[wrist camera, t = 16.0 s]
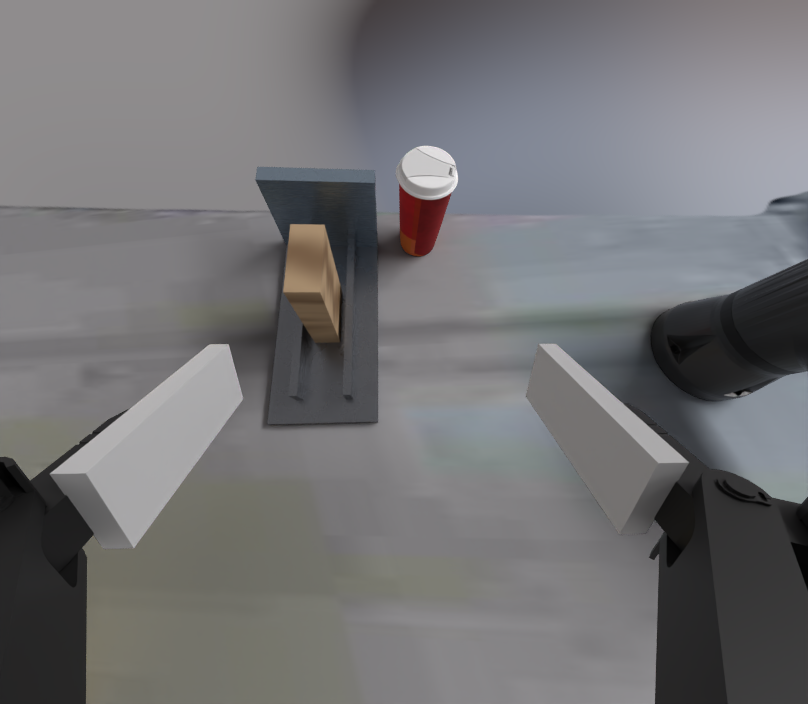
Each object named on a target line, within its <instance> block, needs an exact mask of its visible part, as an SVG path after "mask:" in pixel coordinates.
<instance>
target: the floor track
mask: <svg viewBox="0 0 808 704" xmlns="http://www.w3.org/2000/svg"><path fill="white" fill-rule="evenodd" d="M255 180H256V182H257V184H258V186H259V188H260V191H261V193H262V195H263V197H264V199H265V201H266V203H267V205H268V207H269V209H270V212H271V214H272V216H273V218H274V220H275V222H276V224H277V226H278V229H279V231H280V233H281V235H282V237H283V239H284V241H285V243H286V245H287V247H286V256H285V265H284V274H283V284H282V293H281V302H280V311H279V320H278V330H277V339H276V348H275V357H274V367H273V376H272V385H271V394H270V403H269V413H268V422H267V424H269V425H285V424H325V423H365V422H378V252H377V213H376V187H375V186H376V185H375V170H349V169H315V168H281V167H279V168H278V167H257V173H256V179H255ZM290 224H313V225H325V229H326V232H327V236H328V240H329V244H330V248H331V251H332V255H333V259H334V263H335V266H336V270H337V274H338V278H339V282H340V285H341V289H342V311H341V339H340V342H333V343H315V342H314V340H313V339H312V337H311V336H310V334H309V332H308V331H307V329H306V328H305V326H304V324H303V323H302V321H301V320H300V318H299V317H298V315H297V313H296V312H295V310H294V309H293V307H292V305H291V304H290V302H289V301H288V299H287V298H286V296H285V294H284V293H283V289H284V280H285V270H286V261H287V251H288V242H289V232H290Z"/></svg>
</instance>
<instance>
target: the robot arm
mask: <svg viewBox="0 0 808 704" xmlns="http://www.w3.org/2000/svg"><path fill="white" fill-rule="evenodd" d="M651 344H652V349H653V353H654V356H655V358H656V360H657V362H658V364H659V366H660V367H661V369H662V370H663V372H664V373H665V374H666V375H667V377H668V378H669V379H670V380H671V381H672V382H673V383H674V384H676V385H677V386H678V387H679V388H681V389H682V390H684V391H685V392H687V393H689V394H691V395H693V396H695V397H698V398H701V399H705V400H711V401H722V400H728V399H735V398H740V397H743V396H746V395H749V394H751V393H753V392H755V391H757V390H759V389H760V388H762V387H764V386H766V385H768V384H770V383H772V382H774V381H776V380H778V379H780V378H782V377H784V376H785V375H789V374H795V373H800V372H805V371H808V259H807V260H805V261H802V262H800V263H798V264H796V265H793V266H791V267H789V268H787V269H785V270H782V271H780V272H778V273H776V274H773V275H771V276H769V277H767V278H765V279H762V280H760V281H758V282H756V283H753V284H751V285H749V286H747V287H745V288H743V289H740V290H738V291H736V292H734V293H732V294H729V295H724V296H718V297H713V298H707V299H702V300H698V301H690V302H685V303H682V304H680V305H677V306H675V307H674V308H672V309H670V310H668V311H666V312H664V313H663V314H661V315H660V316H659V317H658V319H657V320H656V322H655V323H654V326H653V329H652V333H651ZM526 397H527V399H528V400H529V402H530V403H531V405H532V406H533V408H534V409H535V411H536V412H537V414H538V415H539V417H540V418H541V419H542V421H543V422H544V424H545V425H546V427H547V428H548V430H549V431H550V433H551V434H552V436H553V437H554V439H555V440H556V442H557V443H558V445H559V446H560V448H561V449H562V450H563V452H564V453H565V455H566V456H567V458H568V459H569V461H570V462H571V464H572V465H573V467H574V468H575V470H576V471H577V473H578V474H579V476H580V477H581V479H582V480H583V481H584V483H585V484H586V486H587V487H588V489H589V490H590V492H591V493H592V495H593V496H594V498H595V499H596V501H597V502H598V504H599V505H600V507H601V508H602V510H603V511H604V513H605V514H606V515H607V517H608V518H609V520H610V521H611V523H612V524H613V526H614V527H615V529H616V530H617V532H618V533H619V535H624V534H646V533H647V531H648V530H649V528H650V526H651V525H652V523H653V521H654V520H656V521H657V523H658V524H659V525H660V526H661V528H662V529H663V530H664V531H665V532H664V533H663V535H662V536H661V538H660V539H659V541H658V542H657V544H656V545H655V547H654V548H653V550H652V552H651V554H650V556H649V558H651V559H653V560H654V559H655V558H656V556H657V555H658V554H659V586H658V620H657V654H656V688H655V704H808V497H807V498H806V499H805V500H804V502H803V503H802V504H798V503H794V502H789V501H785V500H780V499H776V498H772V497H771V496H769V495H768V494H767V493H766V492H765V491H764V490H763V489H761V488H760V487H758V486H757V485H755V484H753V483H752V482H750V481H749V480H747V479H744V478H742V477H740V476H738V475H736V474H733V473H730V472H726V471H723V470H715V469H709V468H708V467H707V466H706V465H704V464H703V463H702V462H701V461H700V460H699V459H697V458H696V457H695V456H694V455H693V454H692V453H690V452H689V451H688V450H687V449H686V448H685V447H683V446H682V445H681V444H680V443H679V442H677V441H676V440H675V439H674V438H673V437H672V436H670V435H668V434H667V432H666V431H665V430H663V429H662V428H661V427H660V426H657V424H656V423H655V422H654V421H653V420H652V419H650V418H649V417H648V416H647V415H646V414H645V413H643V412H641V411H640V410H638V409H636V408H634V407H632V406H631V405H629V404H623V403H622V402H621V401H619V400H618V399H617V398H616V397H615V396H614V395H613V394H612V393H610V392H609V391H608V390H607V389H606V388H605V387H604V386H603V385H601V384H600V383H599V382H598V381H597V380H596V379H595V378H594V377H592V376H591V375H590V374H589V373H588V372H587V371H586V370H585V369H583V368H582V367H581V366H580V365H579V364H578V363H577V362H576V361H574V360H573V359H572V358H571V357H570V356H569V355H568V354H567V353H565V352H564V351H563V350H562V349H561V348H560V347H559V346H558V345H557V344H538V348H537V352H536V356H535V361H534V365H533V369H532V373H531V377H530V381H529V386H528V390H527V394H526ZM242 400H243V396H242V392H241V388H240V384H239V381H238V377H237V373H236V370H235V366H234V362H233V359H232V355H231V351H230V347H229V344H209V345H208V346H207V347H206V348H204V349H203V350H202V351H201V352H200V353H198V354H197V355H196V356H195V357H193V358H192V359H191V360H190V361H188V362H187V363H186V364H185V365H183V366H182V367H181V368H180V369H179V370H177V371H176V372H175V373H174V374H172V375H171V376H170V377H169V378H167V379H166V380H165V381H164V382H163V383H161V384H160V385H159V386H158V387H156V388H155V389H154V390H153V391H151V392H150V393H149V394H148V395H146V396H145V397H144V398H143V399H142V400H140V401H139V402H138V403H137V404H135V405H134V406H133V407H132V408H130V409H128V410H126V411H124V412H122V413H120V414H118V415H116V416H114V417H112V418H110V419H109V420H107V421H106V422H105V423H103V424H102V425H101V426H99V427H98V428H97V429H96V430H94V431H93V433H92V434H89V435H88V436H87V437H85V438H84V439H83V440H82V441H80V444H79V445H75V446H74V447H73V448H71V449H70V450H69V451H68V452H66V453H65V454H64V455H63V456H61V457H60V458H59V459H57V460H56V461H55V462H54V463H52V464H51V465H50V466H49V467H47V468H46V469H45V470H43V471H42V472H41V473H40V474H38V475H37V476H36V477H35V478H33V479H32V480H31V481H30V480H29V479H28V478H27V477H26V475H25V474H24V473H23V471H22V470H21V469H20V468H19V466H18V465H17V464H16V462H15V461H14V460H13V459H11V458H7V457H0V704H86V608H87V557H86V554H85V552H84V550H83V549H82V547H83V546H84V545H85V544H86V542H87V541H88V540H89V539H90V538H91V537H92V536H93V535H94V536H95V538H96V539H97V541H98V542H99V543H100V545H101V546H102V548H103V549H121V548H134V547H135V546H136V545H137V543H138V542H139V540H140V539H141V538H142V536H143V535H144V534H145V532H146V531H147V530H148V528H149V527H150V525H151V524H152V523H153V521H154V520H155V519H156V517H157V516H158V515H159V513H160V512H161V510H162V509H163V508H164V506H165V505H166V504H167V502H168V501H169V500H170V498H171V497H172V495H173V494H174V493H175V491H176V490H177V489H178V487H179V486H180V485H181V483H182V482H183V480H184V479H185V478H186V476H187V475H188V474H189V472H190V471H191V470H192V468H193V467H194V465H195V464H196V463H197V461H198V460H199V459H200V457H201V456H202V455H203V453H204V452H205V450H206V449H207V448H208V446H209V445H210V444H211V442H212V441H213V440H214V438H215V437H216V435H217V434H218V433H219V431H220V430H221V429H222V427H223V426H224V425H225V423H226V422H227V420H228V419H229V418H230V416H231V415H232V414H233V412H234V411H235V410H236V408H237V407H238V405H239V404H240V403H241V401H242Z"/></svg>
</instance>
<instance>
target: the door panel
mask: <svg viewBox="0 0 808 704" xmlns="http://www.w3.org/2000/svg"><path fill="white" fill-rule="evenodd" d="M283 293H284V294H285V296H286V298H287V299H288V301H289V302H290V304H291V305H292V307H293V309H294V310H295V312H296V313H297V315H298V317H299V318H300V320H301V321H302V323H303V324H304V326H305V328H306V329H307V331H308V332H309V334H310V336H311V337H312V339H313V340H314V342H315V343H333V342H340V339H341V311H342V289H341V285H340V282H339V278H338V274H337V270H336V266H335V263H334V259H333V255H332V251H331V248H330V244H329V240H328V236H327V232H326V229H325V225H313V224H290V232H289V242H288V251H287V261H286V270H285V280H284V289H283Z"/></svg>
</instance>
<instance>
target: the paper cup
mask: <svg viewBox="0 0 808 704" xmlns="http://www.w3.org/2000/svg"><path fill="white" fill-rule="evenodd" d="M396 177H397V180H398V182H399V188H400V189H399V191H400V193H399V196H400V241H401V246H402V248H403V249H404V251H405V252H407V253H408V254H410V255H413V256H424V255H426V254H428V253H429V252H430V251H431V250H432V249H433V247H434V244H435V241H436V239H437V236H438V233H439V230H440V227H441V224H442V221H443V218H444V215H445V211H446V208H447V205H448V202H449V199H450V196H451V193H452V191H453V190H454V189H455V187H456V185H457V182H458V174H457V170H456V164H455V162H454V160H453V158H452V157H451V156H450V155H449V154H448V153H447V152H445V151H443V150H442V149H439V148H436V147H432V146H420V147H416V148H414V149H412V150H411V151H409V152H408V153H407V154H406V155H405V156H404V157H403V158H402V159H401V161H400V163H399V164H398V166H397V168H396Z"/></svg>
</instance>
